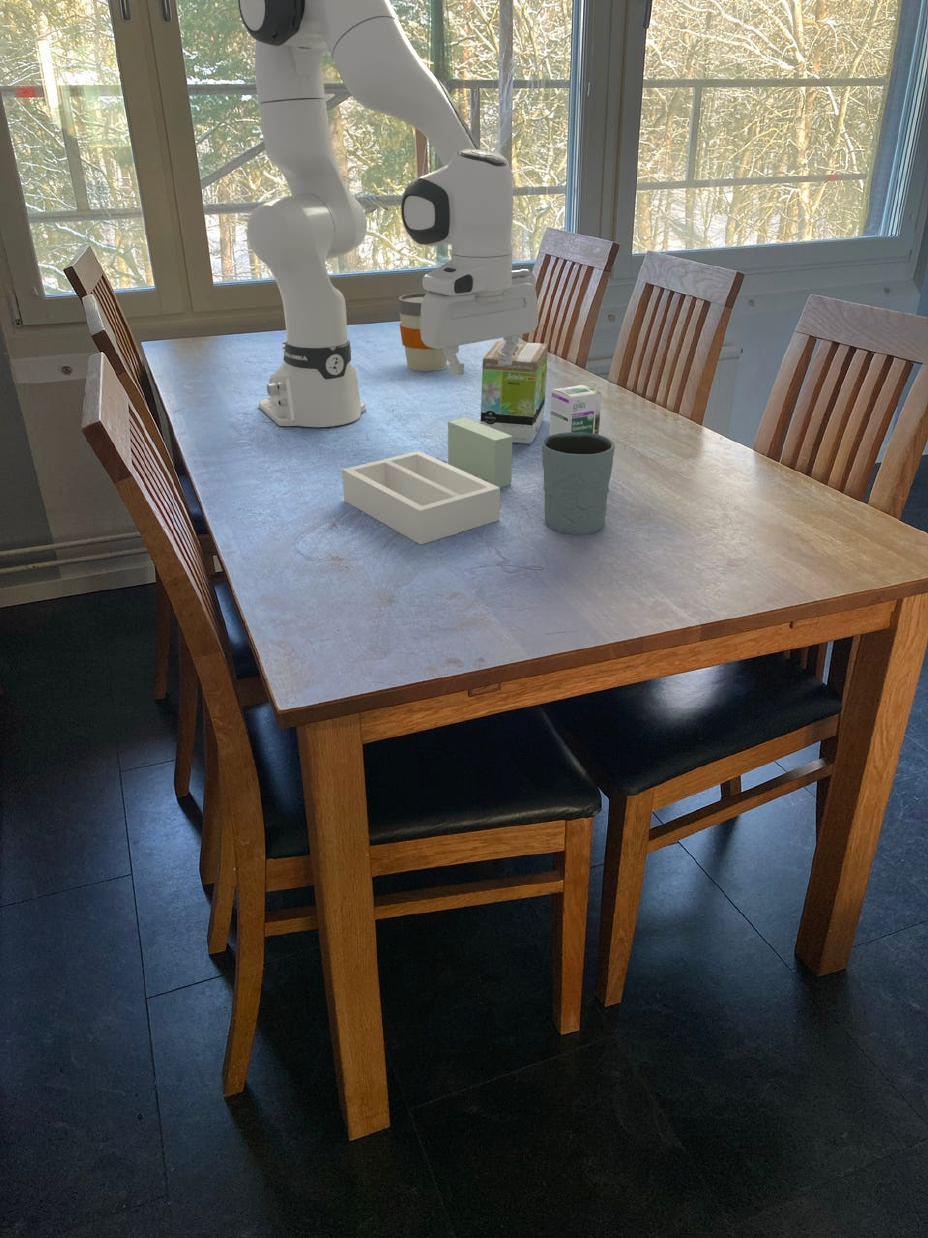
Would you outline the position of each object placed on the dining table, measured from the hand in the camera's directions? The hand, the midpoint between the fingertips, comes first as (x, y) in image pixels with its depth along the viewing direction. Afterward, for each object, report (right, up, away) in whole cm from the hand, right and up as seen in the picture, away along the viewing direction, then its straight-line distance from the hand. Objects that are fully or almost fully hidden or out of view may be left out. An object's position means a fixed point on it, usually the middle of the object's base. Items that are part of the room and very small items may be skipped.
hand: (481, 369), depth 141 cm
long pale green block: (0, -15, +9) cm, 17 cm away
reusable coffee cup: (-11, +20, +71) cm, 74 cm away
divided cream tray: (-9, -22, -4) cm, 24 cm away
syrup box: (+15, -16, +8) cm, 23 cm away
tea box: (+6, -3, +30) cm, 31 cm away
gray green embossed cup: (+13, -24, -8) cm, 29 cm away
